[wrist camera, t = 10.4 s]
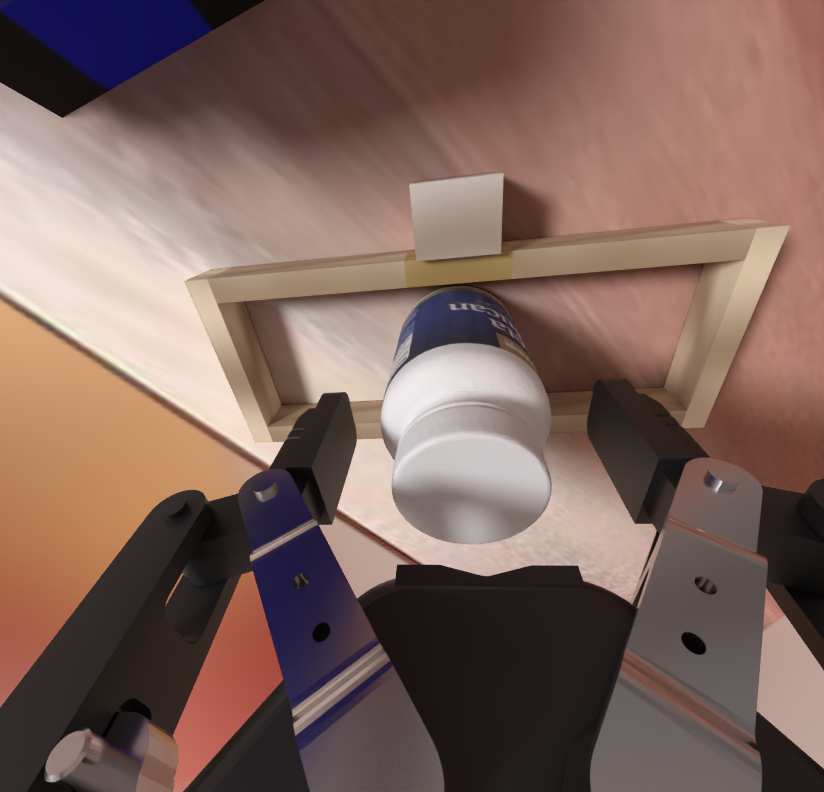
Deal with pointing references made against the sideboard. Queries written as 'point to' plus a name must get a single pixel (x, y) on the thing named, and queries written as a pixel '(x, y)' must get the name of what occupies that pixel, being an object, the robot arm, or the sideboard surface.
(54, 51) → the alarm clock
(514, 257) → the wooden rectangular frame
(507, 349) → the pill bottle
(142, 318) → the sideboard surface
